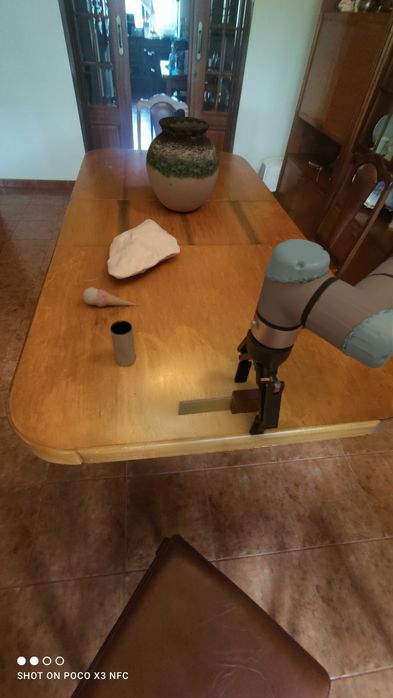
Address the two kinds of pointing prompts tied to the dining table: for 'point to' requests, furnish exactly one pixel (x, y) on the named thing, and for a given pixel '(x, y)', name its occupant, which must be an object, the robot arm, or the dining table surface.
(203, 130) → the vase
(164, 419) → the dining table surface
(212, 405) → the knife
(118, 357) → the grey cylinder
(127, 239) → the white rock slab
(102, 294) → the ice cream cone
